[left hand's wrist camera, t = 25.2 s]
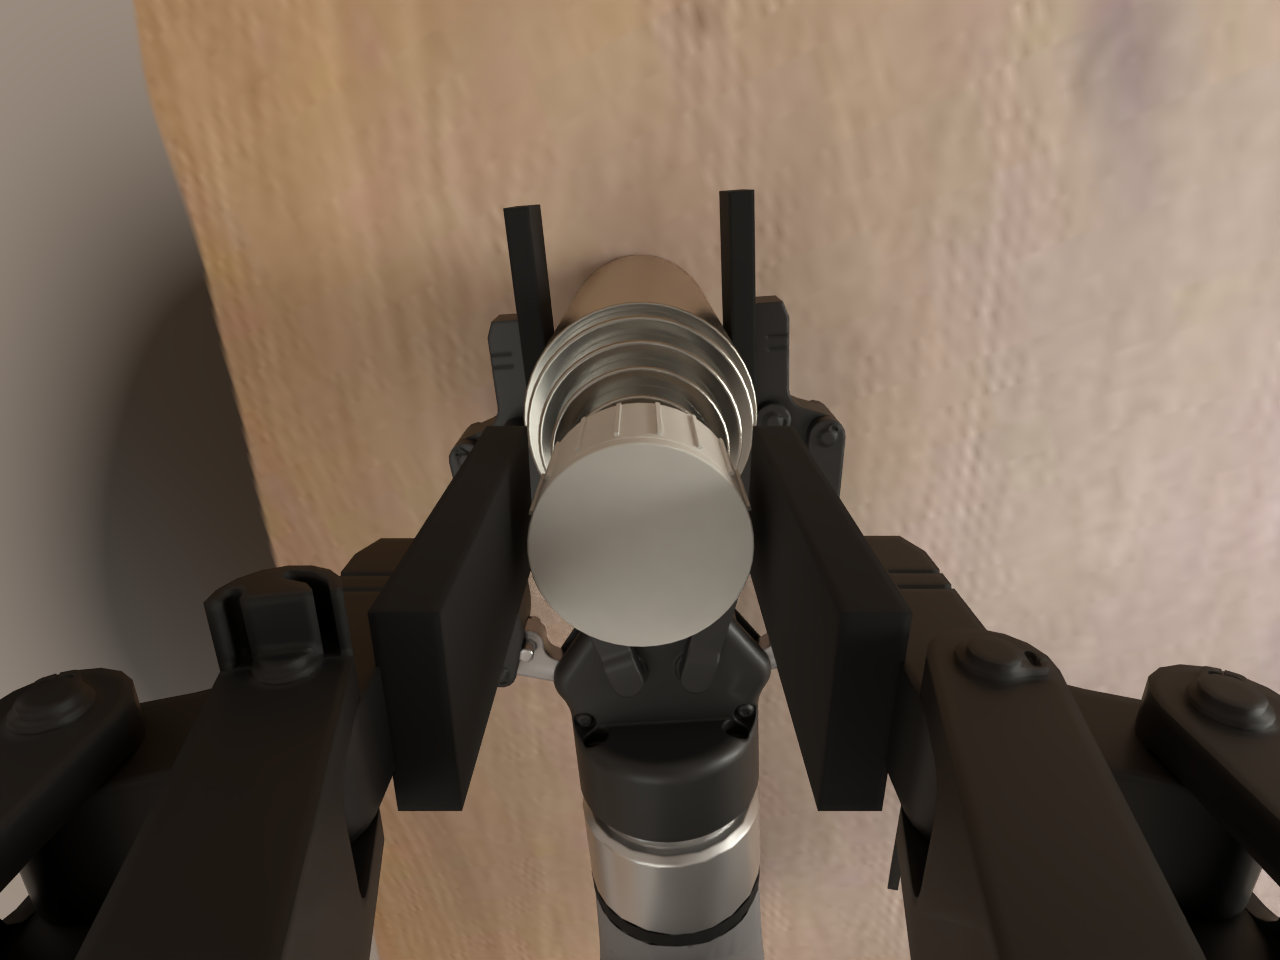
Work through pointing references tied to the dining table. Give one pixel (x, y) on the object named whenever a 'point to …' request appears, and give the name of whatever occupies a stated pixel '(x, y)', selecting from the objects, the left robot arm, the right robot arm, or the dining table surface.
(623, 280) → the bottle
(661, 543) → the cap
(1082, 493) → the dining table surface
